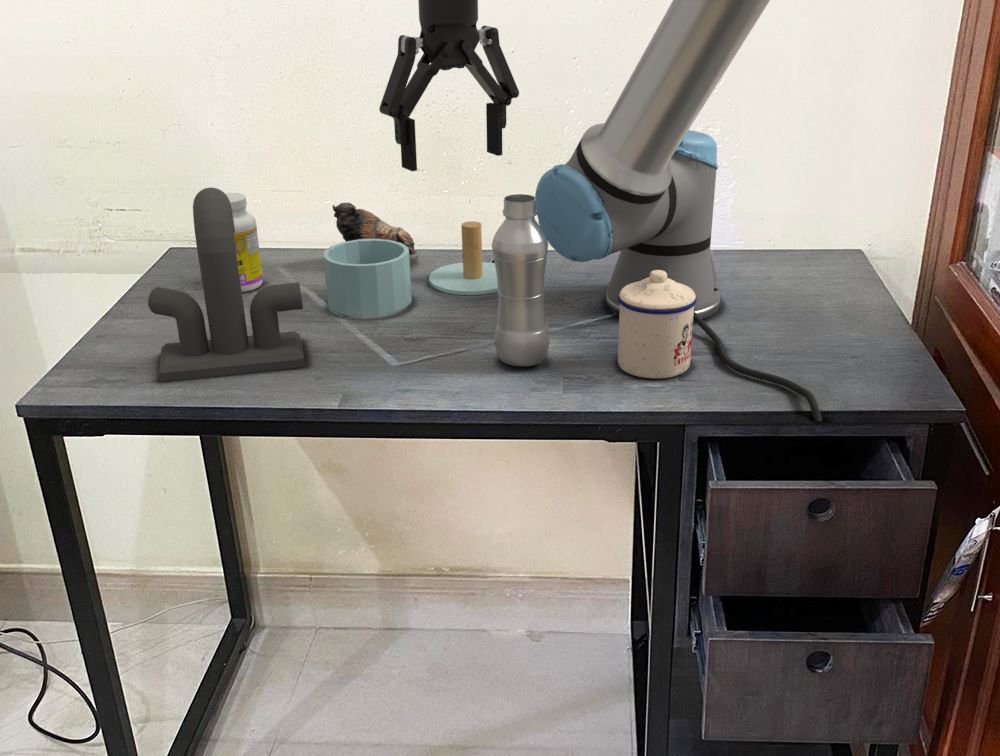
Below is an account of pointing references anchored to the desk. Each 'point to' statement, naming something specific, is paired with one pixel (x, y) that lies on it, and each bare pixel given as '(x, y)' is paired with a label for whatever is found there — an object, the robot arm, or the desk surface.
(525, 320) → the silver metal bottle
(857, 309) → the desk surface
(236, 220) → the supplement bottle
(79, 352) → the desk surface
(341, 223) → the brown striped lumpy figure
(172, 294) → the faucet
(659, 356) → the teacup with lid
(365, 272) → the bowl
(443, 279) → the lid
